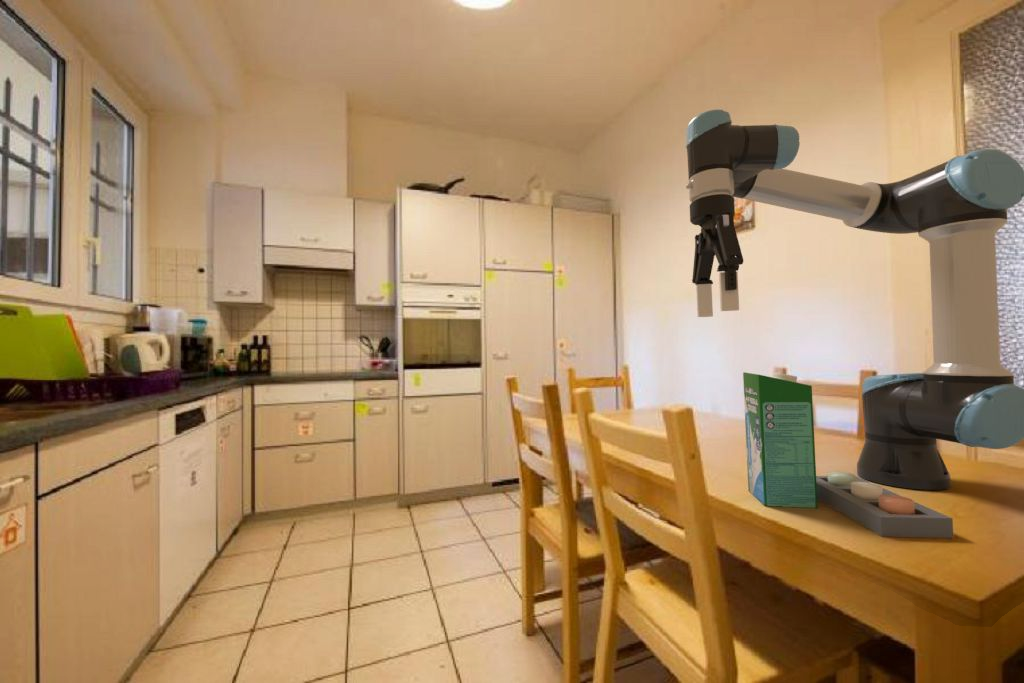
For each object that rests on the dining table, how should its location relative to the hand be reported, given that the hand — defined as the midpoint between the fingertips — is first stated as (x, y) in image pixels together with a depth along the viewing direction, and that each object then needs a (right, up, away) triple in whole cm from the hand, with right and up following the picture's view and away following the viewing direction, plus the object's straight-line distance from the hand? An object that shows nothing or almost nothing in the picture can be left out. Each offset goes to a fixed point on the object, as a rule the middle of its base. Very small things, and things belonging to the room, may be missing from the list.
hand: (716, 314), depth 78 cm
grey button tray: (+26, -36, -2) cm, 44 cm away
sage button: (+27, -34, +5) cm, 44 cm away
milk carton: (+15, -36, +5) cm, 40 cm away
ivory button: (+26, -34, -2) cm, 43 cm away
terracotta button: (+26, -34, -9) cm, 43 cm away
